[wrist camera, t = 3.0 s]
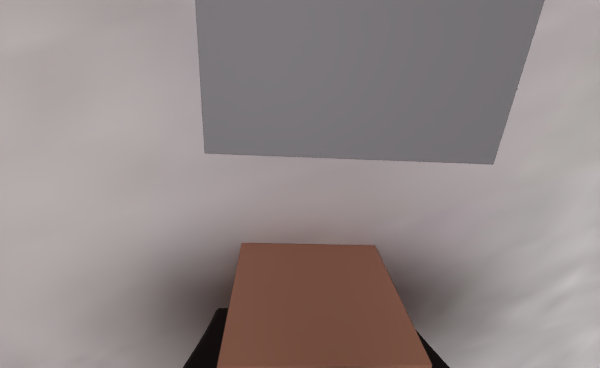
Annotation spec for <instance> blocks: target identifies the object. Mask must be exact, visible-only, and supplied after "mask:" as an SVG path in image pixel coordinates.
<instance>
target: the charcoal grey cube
mask: <svg viewBox="0 0 600 368" xmlns="http://www.w3.org/2000/svg"><path fill="white" fill-rule="evenodd" d="M543 3H544V0H195V4H196V21H197V37H198V53H199V69H200V86H201V102H202V118H203V135H204V151H205V153H207V154H233V155H260V156H286V157H312V158H338V159H364V160H391V161H417V162H443V163H469V164H494V160H495V157H496V154H497V151H498V148H499V144H500V141H501V138H502V135H503V132H504V128H505V125H506V122H507V119H508V116H509V112H510V109H511V106H512V103H513V100H514V96H515V93H516V90H517V87H518V84H519V80H520V77H521V74H522V71H523V68H524V64H525V61H526V58H527V55H528V52H529V48H530V45H531V42H532V39H533V35H534V32H535V29H536V26H537V23H538V19H539V16H540V13H541V10H542V7H543Z"/></svg>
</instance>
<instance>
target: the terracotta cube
mask: <svg viewBox="0 0 600 368" xmlns="http://www.w3.org/2000/svg"><path fill="white" fill-rule="evenodd" d="M217 368H432V363H431V361H430V359H429V357H428V355H427V353H426V351H425V349H424V347H423V345H422V343H421V341H420V338H419V336H418V334H417V332H416V330H415V328H414V326H413V324H412V322H411V320H410V318H409V316H408V314H407V311H406V309H405V307H404V305H403V303H402V301H401V299H400V297H399V295H398V293H397V291H396V289H395V286H394V284H393V282H392V280H391V278H390V276H389V274H388V272H387V270H386V268H385V266H384V264H383V261H382V259H381V257H380V255H379V253H378V251H377V249H376V247H375V245H327V244H272V243H242V245H241V250H240V255H239V260H238V265H237V269H236V274H235V279H234V284H233V289H232V294H231V299H230V304H229V309H228V314H227V319H226V324H225V329H224V334H223V339H222V344H221V349H220V354H219V359H218V364H217Z"/></svg>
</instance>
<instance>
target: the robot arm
mask: <svg viewBox="0 0 600 368" xmlns="http://www.w3.org/2000/svg"><path fill="white" fill-rule="evenodd" d="M228 309H229V308H219V309H218V310H216V312H215V314H214V316H213V318H212V320H211V322H210V324H209V326H208V328H207V330H206V331H205V333H204V335H203V337H202V338H201V340H200V342H199V343H198V345H197V347H196V348H195V350H194V351H193V353H192V354H191V356H190V358H189V359H188V361H187V362H186V364H185V365H184V367H183V368H217V364H218V359H219V354H220V349H221V344H222V339H223V334H224V329H225V324H226V319H227V314H228ZM416 332H417V331H416ZM417 334H418V336H419V338H420V341H421V343H422V345H423V347H424V349H425V351H426V353H427V355H428V357H429V359H430V361H431V363H432V368H449V366H448V365H447V364H446V363H445V362H444V361H443V360H442V359H441V358H440V357H439V356H438V354H437V353H436V352H435V351H434V350H433V349H432V348H431V347H430V346H429V345H428V343H427V342H426V341H425V340H424V339H423V338H422V336H421V335H420V334H419V333H418V332H417Z"/></svg>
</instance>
